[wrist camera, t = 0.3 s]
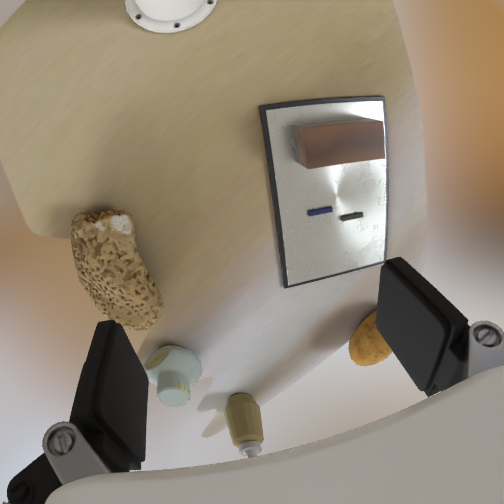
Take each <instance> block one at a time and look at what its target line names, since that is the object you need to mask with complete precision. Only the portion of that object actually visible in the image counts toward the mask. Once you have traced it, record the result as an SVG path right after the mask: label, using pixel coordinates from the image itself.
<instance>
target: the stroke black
mask: <svg viewBox="0 0 504 504" xmlns="http://www.w3.org/2000/svg"><path fill="white" fill-rule="evenodd" d="M362 217H363V212H359V213H354V214H349V215H344V216H341V221H342V222H343V221H348V220H352V219H357V218H362Z"/></svg>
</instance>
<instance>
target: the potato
mask: <svg viewBox="0 0 504 504" xmlns="http://www.w3.org/2000/svg"><path fill="white" fill-rule="evenodd" d="M376 311H377V310H376ZM376 311H375V312H373V313H372V314H370V315H369V316H368V317H367V318H366V319H365V320H364V321H363V322H361V323H360V325H359V326H358V327H357V328H356V330H355V332H354V334H353V335H352V337H351V339H350V341H349V353H350V356H351V359H352V360H353V361H354V362H355V363H356V364H357V365H360V366H368V365H373V364H376V363H378V362H380V361H382V360H384V359H386V358H387V357H388V356H389V355H390V354H391V352H392V350H391V348H390V347H389V346H388V344H387V343H386V341H385V340H384V339H383V337H382V336H381V334H380V333H379V332H378V330H377V328H376V324H375V319H376Z"/></svg>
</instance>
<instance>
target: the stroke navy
mask: <svg viewBox="0 0 504 504" xmlns="http://www.w3.org/2000/svg"><path fill="white" fill-rule="evenodd" d="M330 212H333V207H332V206H330V207H325V208H320V209H315V210H310V211H308V216H309V217H310V216H315V215H320V214H325V213H330Z"/></svg>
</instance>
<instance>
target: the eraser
mask: <svg viewBox="0 0 504 504" xmlns="http://www.w3.org/2000/svg"><path fill="white" fill-rule="evenodd" d="M292 131H293V139H294V147H295V156H296V162H297V163H299V164H300V165H302V166H303V167H305V168H307V169H314V168H320V167H327V166H333V165H340V164H347V163H354V162H362V161H370V160H377V159H385V136H384V121H381V120H376V119H371V118H353V119H341V120H330V121H320V122H311V123H303V124H295V125H292Z"/></svg>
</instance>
